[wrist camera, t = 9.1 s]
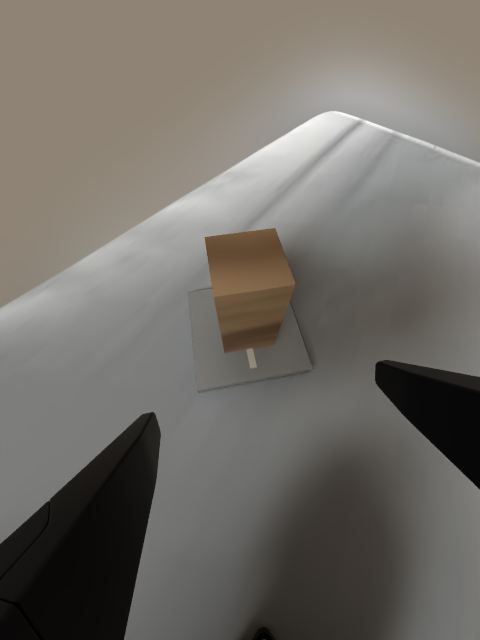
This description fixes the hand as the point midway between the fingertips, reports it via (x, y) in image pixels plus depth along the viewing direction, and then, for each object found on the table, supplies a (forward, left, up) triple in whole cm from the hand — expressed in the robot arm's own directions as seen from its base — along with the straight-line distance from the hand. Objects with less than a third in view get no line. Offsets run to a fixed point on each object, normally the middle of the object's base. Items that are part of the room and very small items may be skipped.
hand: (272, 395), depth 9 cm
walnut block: (+6, -5, -10) cm, 12 cm away
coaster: (+6, -5, -11) cm, 13 cm away
